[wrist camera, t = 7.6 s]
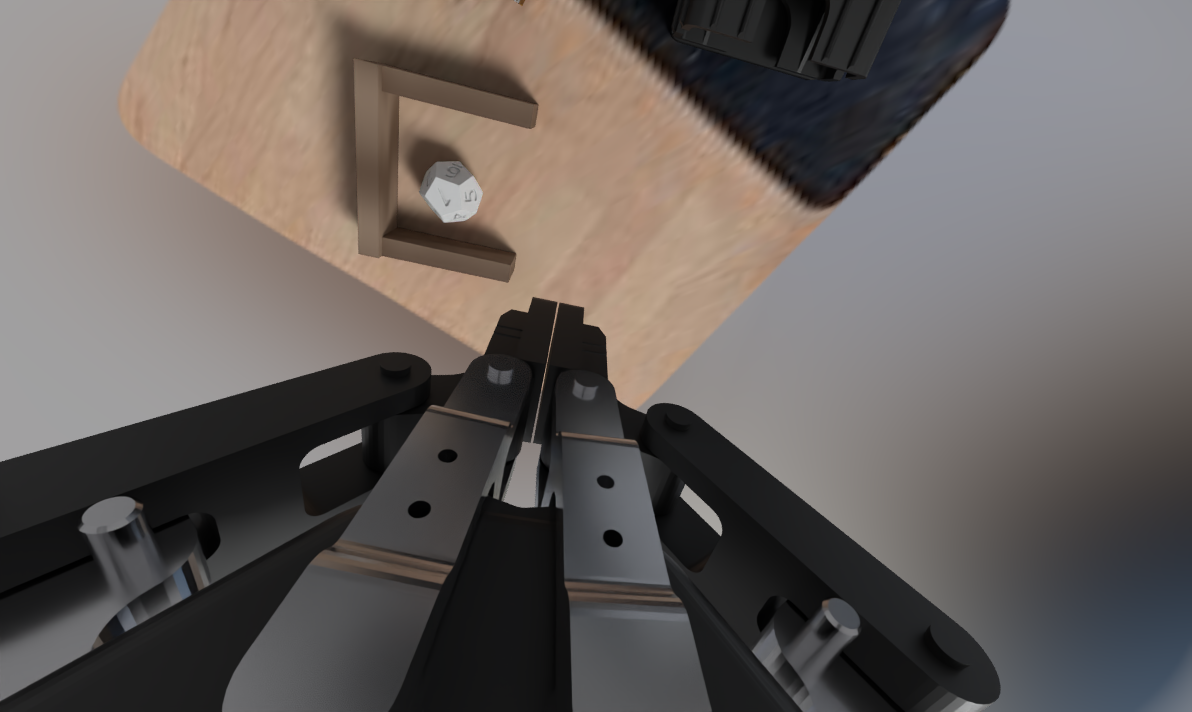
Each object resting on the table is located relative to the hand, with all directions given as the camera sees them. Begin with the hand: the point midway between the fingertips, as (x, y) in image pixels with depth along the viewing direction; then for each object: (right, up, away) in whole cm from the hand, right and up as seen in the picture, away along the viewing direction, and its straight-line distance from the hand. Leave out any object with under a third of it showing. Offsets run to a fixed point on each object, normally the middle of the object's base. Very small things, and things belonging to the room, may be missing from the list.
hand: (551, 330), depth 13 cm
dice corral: (-7, +10, +16) cm, 20 cm away
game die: (-8, +10, +16) cm, 20 cm away
